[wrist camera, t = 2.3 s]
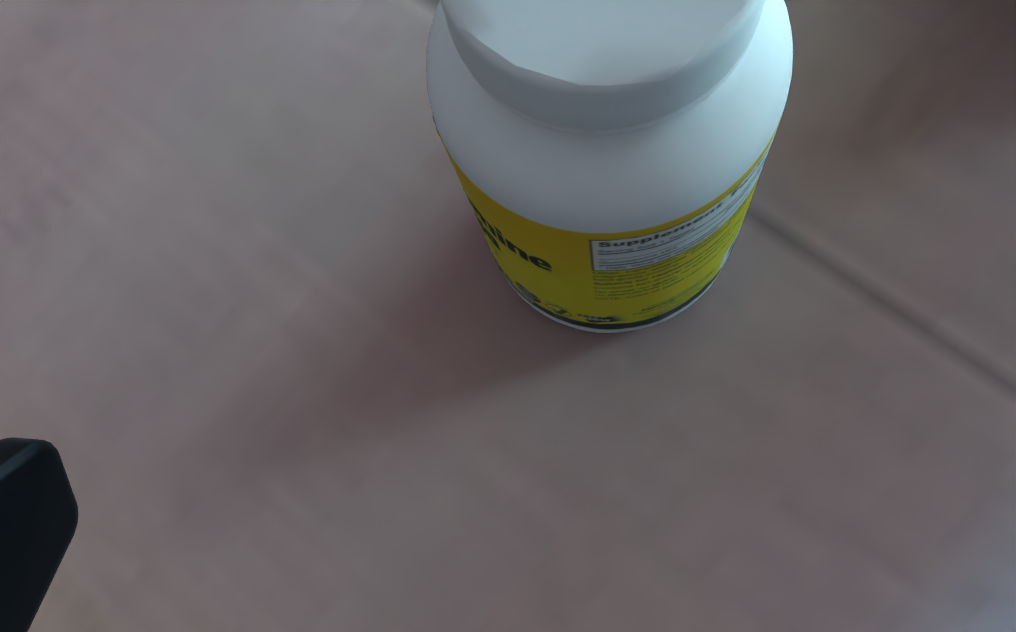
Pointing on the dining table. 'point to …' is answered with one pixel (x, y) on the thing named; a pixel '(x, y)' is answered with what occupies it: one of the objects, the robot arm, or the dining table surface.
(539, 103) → the pill bottle
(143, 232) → the dining table surface
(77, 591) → the dining table surface
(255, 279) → the dining table surface
